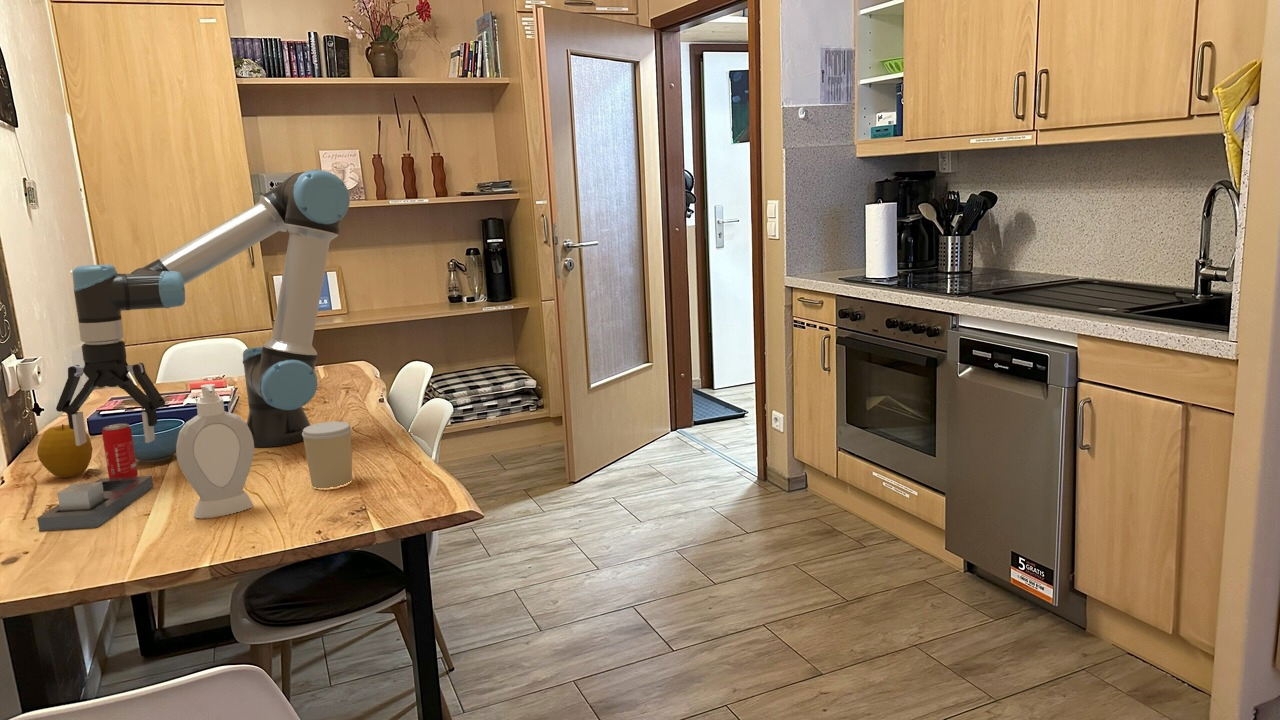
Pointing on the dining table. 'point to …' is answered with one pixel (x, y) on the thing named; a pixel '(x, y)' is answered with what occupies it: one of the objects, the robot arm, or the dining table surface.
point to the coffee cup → (328, 453)
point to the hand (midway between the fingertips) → (116, 442)
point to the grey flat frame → (93, 502)
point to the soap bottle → (216, 457)
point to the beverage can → (119, 451)
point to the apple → (64, 452)
